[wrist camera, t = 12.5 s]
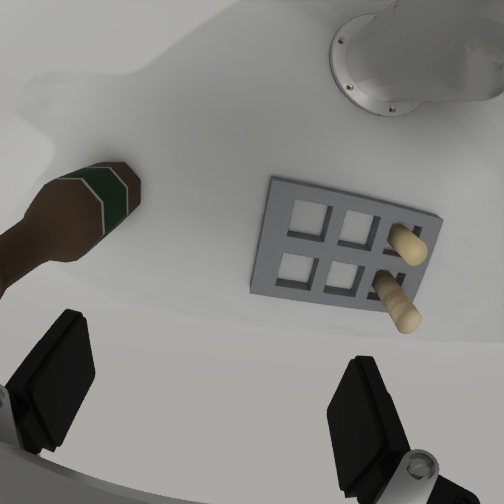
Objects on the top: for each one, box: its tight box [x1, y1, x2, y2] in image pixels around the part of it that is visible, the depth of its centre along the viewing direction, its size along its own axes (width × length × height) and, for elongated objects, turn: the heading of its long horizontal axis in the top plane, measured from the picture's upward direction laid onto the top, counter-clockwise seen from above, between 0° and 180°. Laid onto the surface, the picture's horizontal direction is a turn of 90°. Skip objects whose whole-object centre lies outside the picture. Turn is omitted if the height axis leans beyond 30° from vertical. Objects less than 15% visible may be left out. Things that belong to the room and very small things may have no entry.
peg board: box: [250, 177, 443, 313], centre depth 36 cm, size 22×14×6 cm, turn 80°
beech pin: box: [372, 270, 422, 334], centre depth 36 cm, size 3×3×10 cm
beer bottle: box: [0, 162, 140, 299], centre depth 26 cm, size 8×8×24 cm
